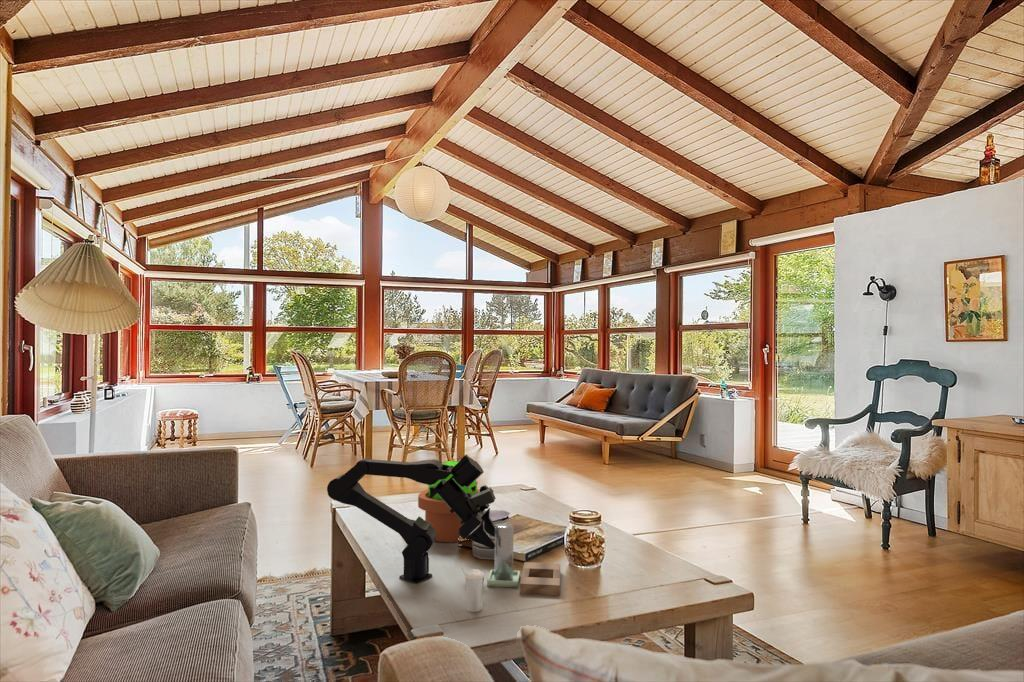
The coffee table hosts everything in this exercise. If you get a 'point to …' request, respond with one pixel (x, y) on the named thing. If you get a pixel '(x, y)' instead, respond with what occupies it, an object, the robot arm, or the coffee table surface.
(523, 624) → the coffee table surface
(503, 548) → the steel cylinder
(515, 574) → the tray
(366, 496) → the robot arm
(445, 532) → the potted cactus
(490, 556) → the can
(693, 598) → the coffee table surface
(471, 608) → the milkshake
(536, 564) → the pocket block
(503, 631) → the coffee table surface
